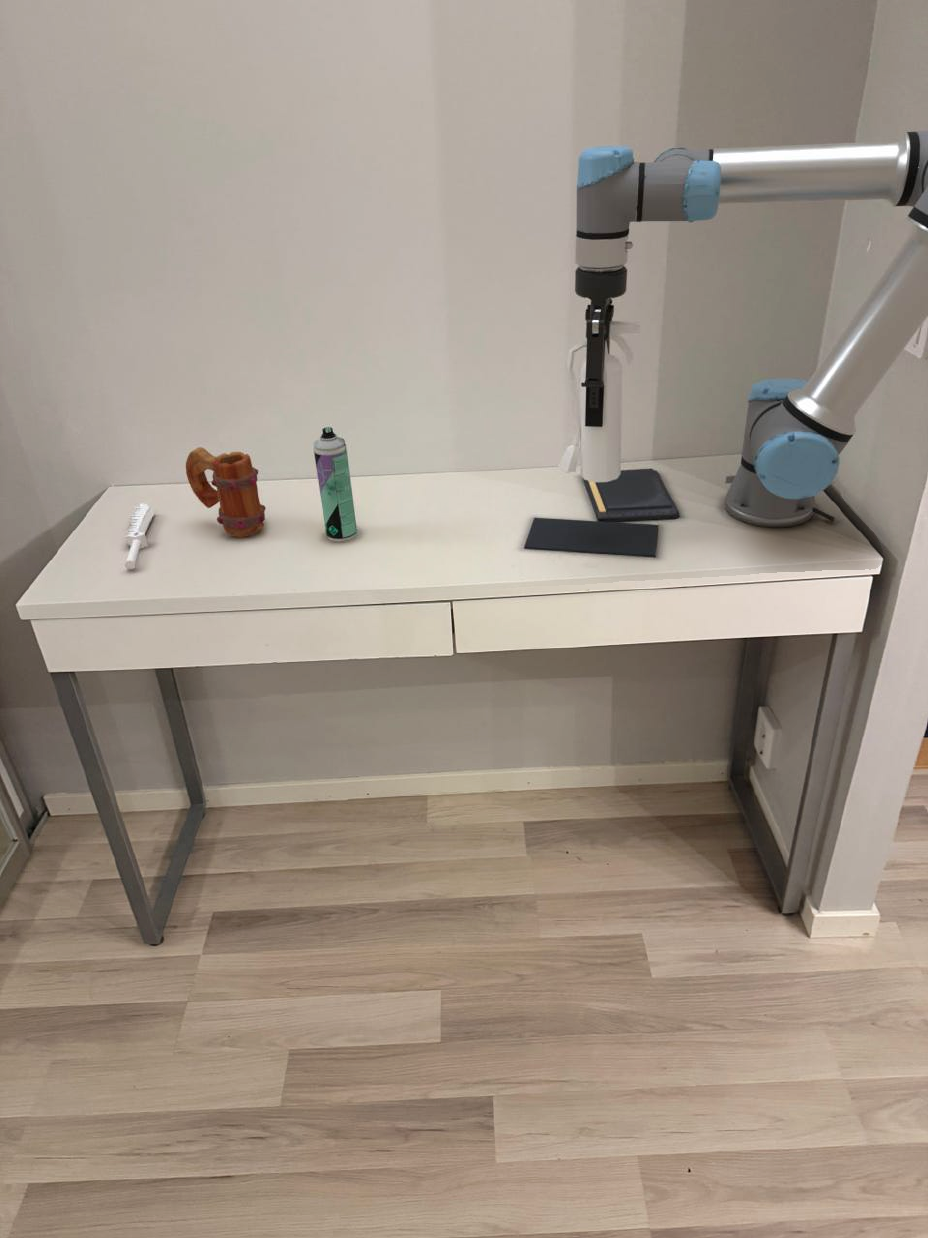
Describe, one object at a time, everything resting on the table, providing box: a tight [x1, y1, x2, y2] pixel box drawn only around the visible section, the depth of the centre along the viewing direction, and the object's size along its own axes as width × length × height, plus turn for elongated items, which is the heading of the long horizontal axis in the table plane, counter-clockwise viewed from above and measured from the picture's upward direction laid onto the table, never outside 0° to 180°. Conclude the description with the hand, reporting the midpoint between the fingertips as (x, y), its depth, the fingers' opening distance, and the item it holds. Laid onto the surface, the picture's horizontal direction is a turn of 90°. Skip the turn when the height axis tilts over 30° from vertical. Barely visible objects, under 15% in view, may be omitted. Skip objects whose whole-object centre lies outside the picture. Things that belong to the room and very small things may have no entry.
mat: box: [523, 517, 660, 558], centre depth 156 cm, size 22×11×1 cm, turn 77°
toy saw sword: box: [124, 503, 155, 570], centre depth 162 cm, size 3×4×22 cm
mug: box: [185, 446, 266, 538], centre depth 161 cm, size 15×8×15 cm, turn 65°
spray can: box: [313, 426, 358, 543], centre depth 155 cm, size 6×6×20 cm
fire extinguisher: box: [556, 320, 641, 482], centre depth 142 cm, size 7×12×25 cm, turn 84°
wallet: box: [581, 468, 681, 522], centre depth 168 cm, size 20×2×15 cm
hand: (596, 417), depth 144 cm, fingers closed on fire extinguisher, 6 cm apart
